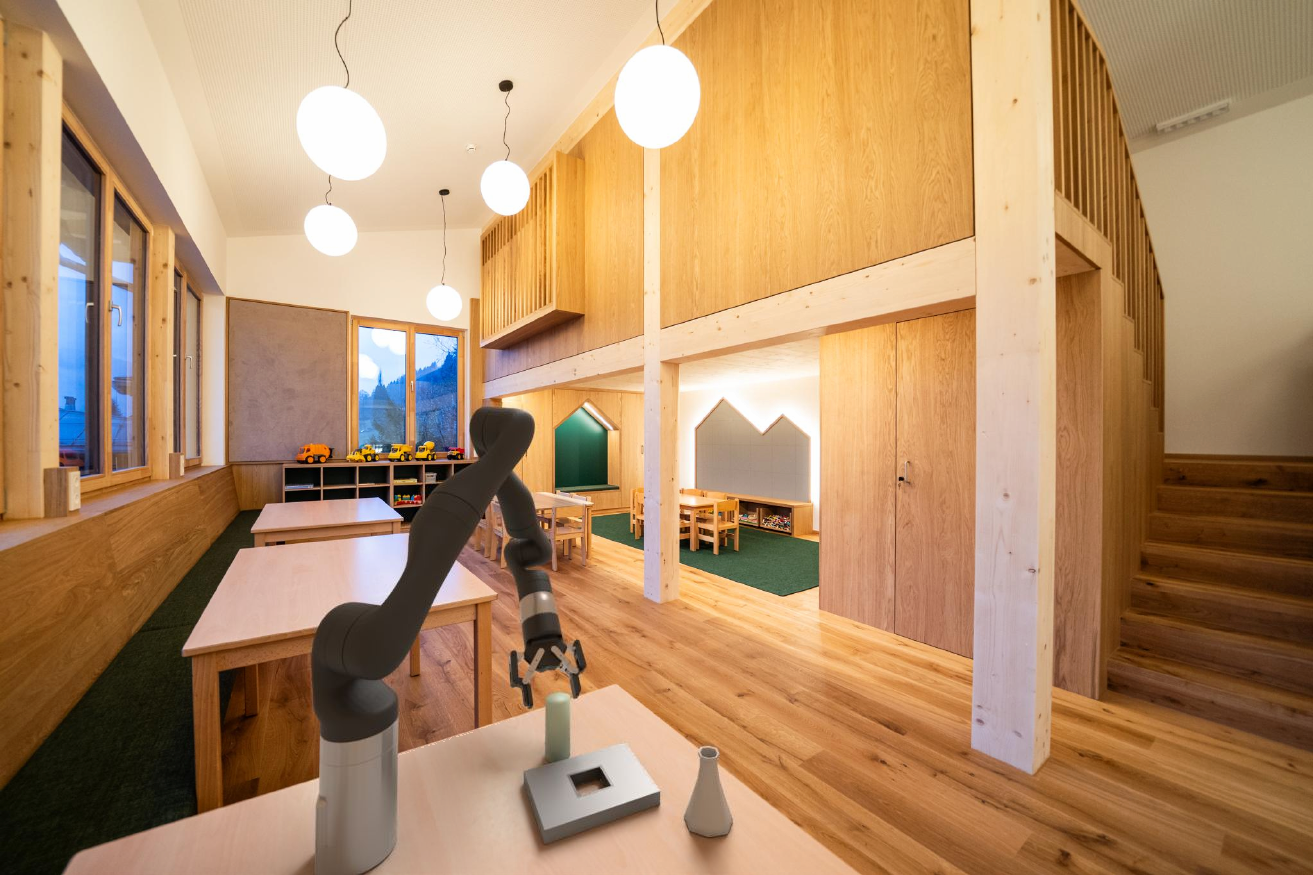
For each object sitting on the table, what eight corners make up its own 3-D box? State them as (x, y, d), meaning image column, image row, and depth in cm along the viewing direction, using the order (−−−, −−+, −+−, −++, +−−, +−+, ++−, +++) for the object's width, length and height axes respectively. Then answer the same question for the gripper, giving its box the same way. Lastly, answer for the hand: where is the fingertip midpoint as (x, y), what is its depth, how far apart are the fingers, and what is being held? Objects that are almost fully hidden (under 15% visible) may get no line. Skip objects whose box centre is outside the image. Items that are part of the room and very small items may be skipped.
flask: (731, 804, 77) (732, 739, 77) (734, 841, 70) (734, 769, 70) (685, 800, 78) (685, 736, 78) (682, 837, 71) (683, 765, 71)
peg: (548, 765, 86) (549, 707, 86) (542, 751, 90) (542, 695, 90) (573, 758, 88) (573, 701, 88) (566, 744, 92) (566, 690, 92)
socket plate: (544, 844, 69) (544, 830, 69) (523, 783, 81) (523, 770, 82) (660, 803, 77) (660, 790, 77) (625, 753, 90) (625, 742, 90)
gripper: (506, 616, 96) (517, 703, 86) (577, 605, 103) (595, 685, 92) (501, 634, 101) (511, 719, 91) (569, 623, 107) (586, 701, 97)
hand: (554, 702), depth 91 cm, fingers open, 8 cm apart
